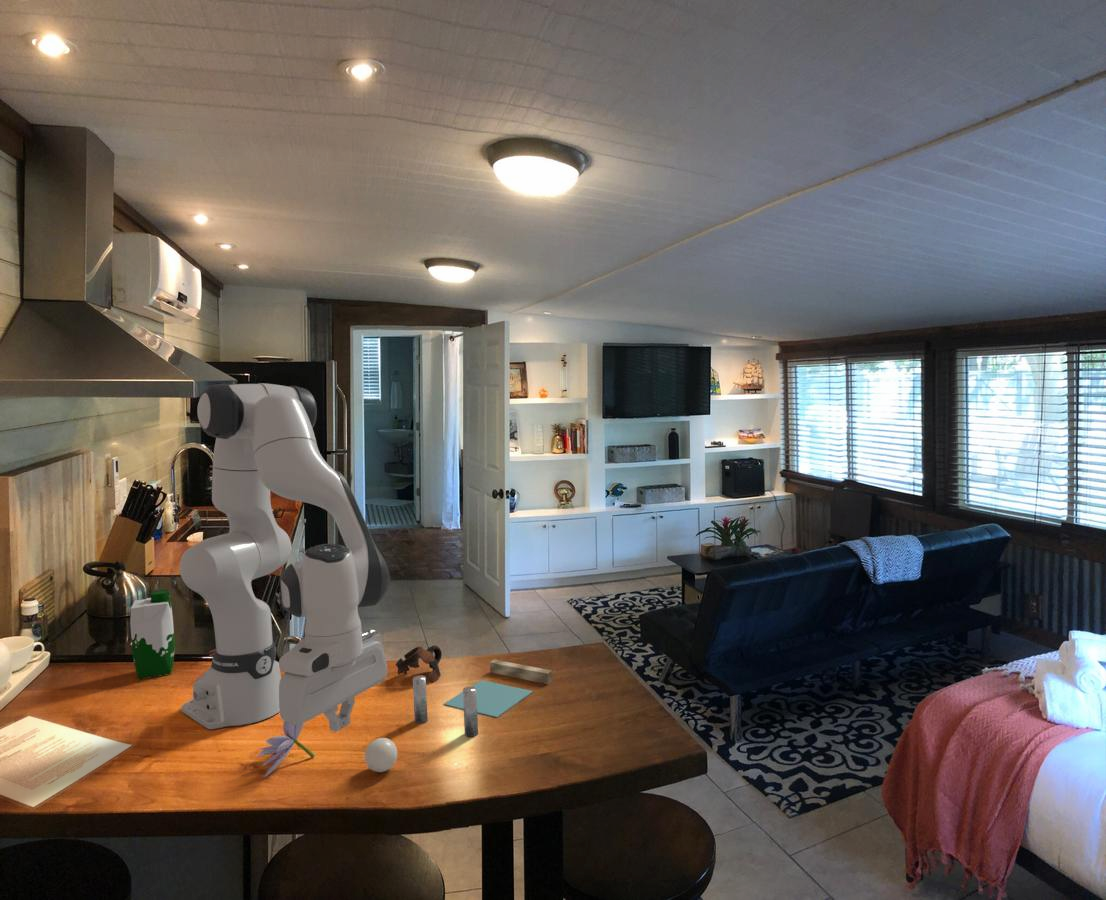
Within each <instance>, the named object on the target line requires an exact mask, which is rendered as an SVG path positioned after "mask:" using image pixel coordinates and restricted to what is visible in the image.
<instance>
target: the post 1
mask: <svg viewBox="0 0 1106 900" xmlns="http://www.w3.org/2000/svg"><path fill="white" fill-rule="evenodd" d="M412 690H413V691H412V693H413V695H412V696H413V713H414V715H413V716H414V723H415V724H417V725H420V724H425V723H427V722H428V719H429V718H428V699H427V698H428V697H427V696H428V695H427V677H426V676H425V675H416V676H413V677H412Z"/></svg>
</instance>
